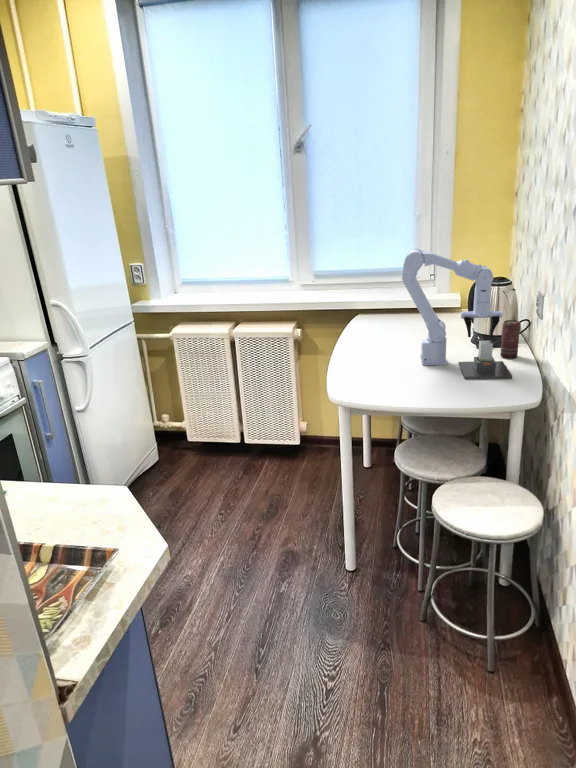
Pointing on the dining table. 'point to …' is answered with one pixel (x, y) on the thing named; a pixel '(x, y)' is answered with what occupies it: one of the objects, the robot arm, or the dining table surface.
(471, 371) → the stand
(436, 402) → the dining table surface
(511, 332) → the can
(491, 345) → the column
